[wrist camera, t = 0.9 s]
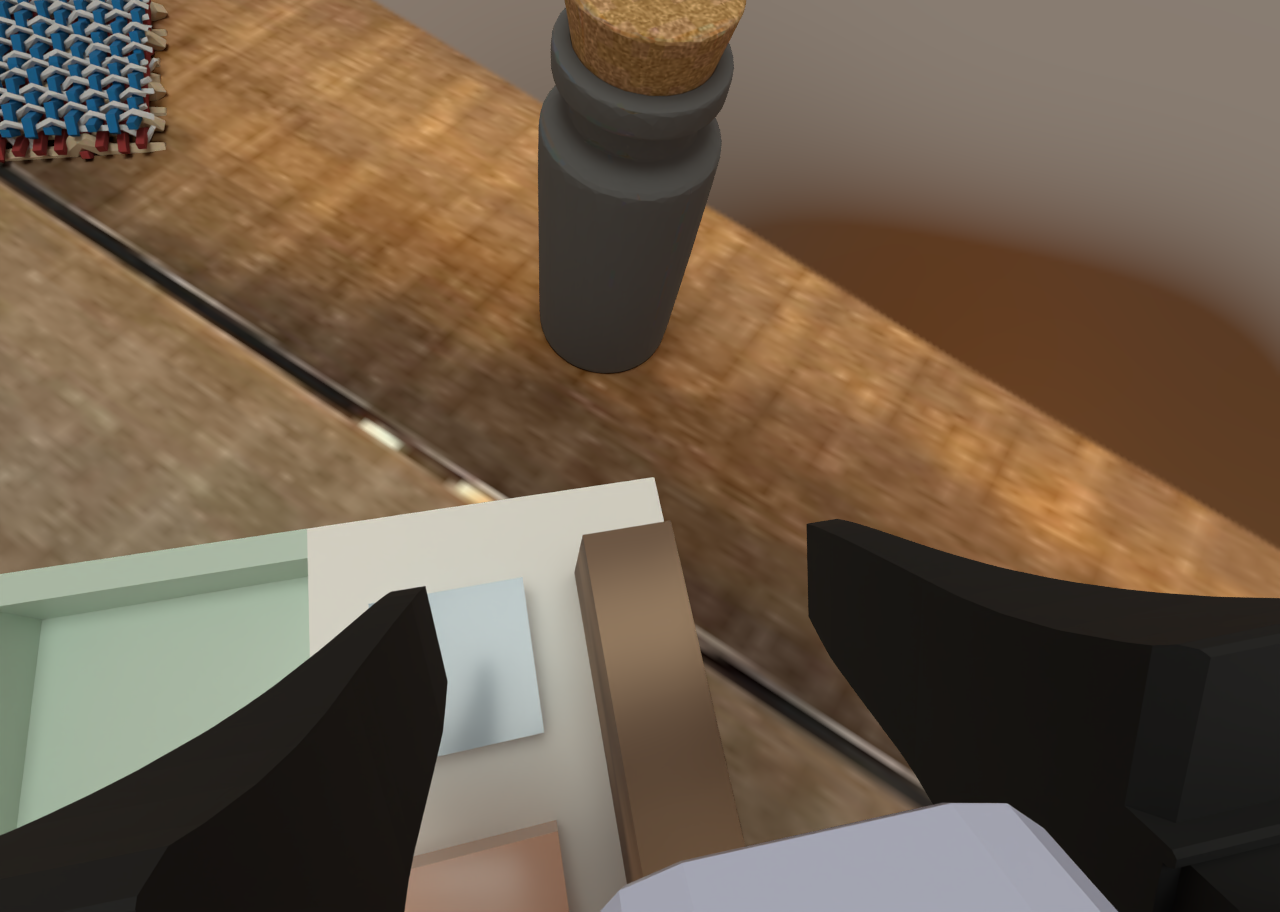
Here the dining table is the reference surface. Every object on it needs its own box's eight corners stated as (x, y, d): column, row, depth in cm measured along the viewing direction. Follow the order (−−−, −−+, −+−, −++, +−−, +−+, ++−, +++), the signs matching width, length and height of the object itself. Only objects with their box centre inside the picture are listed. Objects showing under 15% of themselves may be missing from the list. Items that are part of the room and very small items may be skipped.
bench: (756, 1035, 20) (790, 1085, 17) (356, 1174, 18) (322, 1258, 15) (642, 502, 26) (654, 477, 24) (334, 550, 24) (306, 528, 21)
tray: (356, 1174, 18) (322, 1258, 15) (-73, 1322, 16) (-204, 1452, 13) (334, 550, 24) (306, 528, 21) (24, 598, 22) (-51, 581, 19)
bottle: (681, 362, 29) (804, 47, 15) (556, 386, 28) (570, 65, 14) (644, 260, 31) (725, -101, 17) (526, 278, 30) (512, -98, 16)
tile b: (543, 731, 20) (544, 732, 18) (393, 764, 19) (377, 770, 17) (524, 588, 21) (522, 577, 20) (384, 614, 20) (368, 604, 19)
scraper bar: (729, 966, 18) (792, 1050, 14) (645, 993, 18) (681, 1090, 13) (644, 560, 22) (670, 520, 18) (574, 572, 22) (582, 534, 17)
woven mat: (-94, 185, 28) (-141, 147, 26) (-63, 20, 31) (-101, -24, 29) (174, 167, 30) (150, 130, 28) (175, 15, 33) (153, -26, 32)
